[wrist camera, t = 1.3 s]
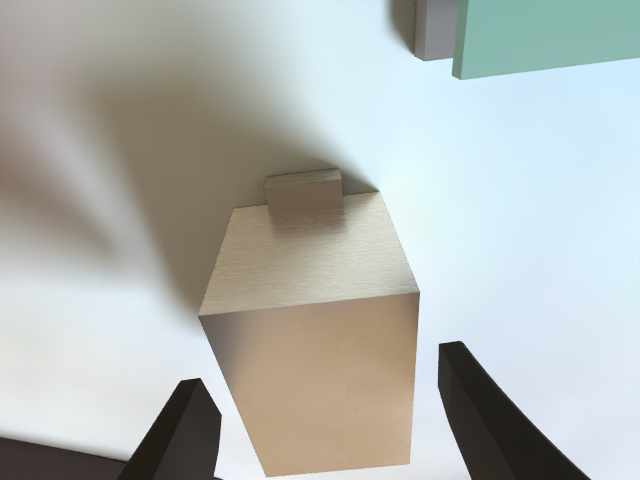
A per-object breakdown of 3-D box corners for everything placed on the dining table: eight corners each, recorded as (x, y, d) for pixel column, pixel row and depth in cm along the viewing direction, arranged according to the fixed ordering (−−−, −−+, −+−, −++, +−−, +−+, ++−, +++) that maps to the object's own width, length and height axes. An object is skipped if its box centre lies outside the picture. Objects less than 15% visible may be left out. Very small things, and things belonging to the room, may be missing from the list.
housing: (379, 163, 12) (422, 255, 7) (383, 361, 17) (408, 477, 13) (226, 181, 12) (183, 281, 8) (279, 371, 17) (271, 489, 13)
